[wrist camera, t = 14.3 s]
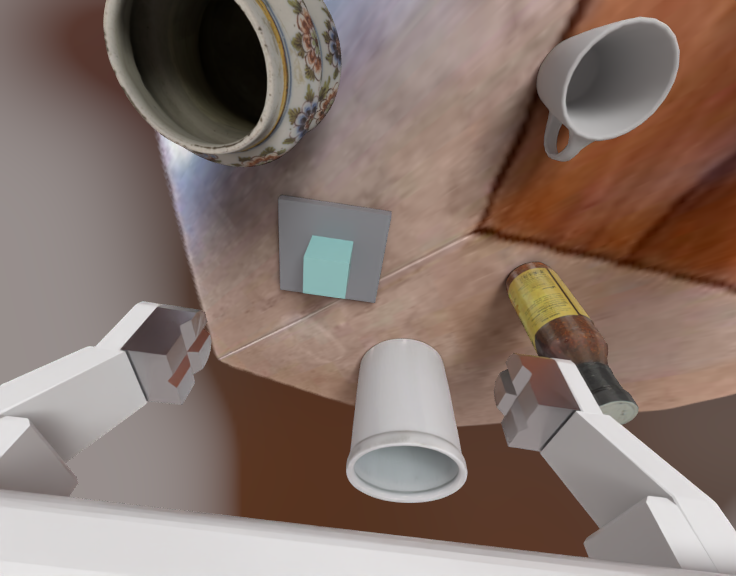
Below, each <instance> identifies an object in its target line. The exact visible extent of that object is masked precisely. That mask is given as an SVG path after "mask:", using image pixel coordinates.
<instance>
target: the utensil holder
mask: <svg viewBox="0 0 736 576" xmlns="http://www.w3.org/2000/svg"><path fill="white" fill-rule="evenodd" d="M346 474H347V477H348V479H349V481H350V483H351V484H352V485H353V486H354V487H355V488H357V489H358V490H360V491H361V492H363V493H365V494H367V495H370V496H372V497H375V498H378V499H382V500H386V501H393V502H403V503H417V502H427V501H432V500H437V499H440V498H444V497H446V496H448V495H450V494H452V493H454V492H456V491H457V490H458V489H460V488H461V487H462V486H463V484H464V483H465V481H466V478H467V467H466V463H465V459H464V457H463V455H462V453H461V447H460V442H459V436H458V432H457V427H456V422H455V417H454V412H453V407H452V401H451V396H450V391H449V386H448V382H447V378H446V373H445V368H444V365H443V361H442V359H441V357H440V355H439V354H438V352H437V351H436V350H435V349H433V348H432V347H431V346H429V345H427V344H425V343H423V342H420V341H417V340H412V339H391V340H387V341H384V342H381V343H379V344H377V345H375V346H374V347H372V348H371V349H370V350H368V351H367V352H366V354H365V355H364V357H363V359H362V361H361V365H360V371H359V379H358V386H357V395H356V405H355V413H354V423H353V432H352V442H351V450H350V454H349V456H348V459H347V465H346Z"/></svg>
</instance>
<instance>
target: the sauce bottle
mask: <svg viewBox="0 0 736 576" xmlns="http://www.w3.org/2000/svg"><path fill="white" fill-rule="evenodd" d="M506 287H507V292H508V296H509V299H510V301H511V303H512V305H513V307H514V309H515V310H516V312H517V314H518V316H519V319H520V321H521V323H522V324H523V326H524V328H525V330H526V332H527V334H528V336H529V338H530V340H531V342H532V344H533V346H534V348H535V350H536V352H537V354H538V356H540V357H547V358H556V359H564V360H570V361H572V362H573V363H574V364H575V365H576V367H577V369H578V370H579V372H580V374H581V376H582V378H583V379H584V381H585V383H586V385H587V386H588V388H589V390H590V392H591V393H592V395H593V397H594V399H595V401H596V402H597V404H598V406H599V408H600V409H601V411H602V413H603V414H604V415H610V416H611V417H612V418H613V419H614V420H616V421H617V422H618V423H619V424H621V425H622V424H625V423H628V422H629V421H631V420H632V419H633V418H634V417H635V416H636V415H637V413H638V406H637V404H636V403H635V401H634V399H633V398H632V396H631V395H630V394H629V393H628V392H627V391H626V390H624V389H623V388H622V387H621V385H620V384H619V382H618V381H617V380H616V378H615V377H614V375H613V372H612V371H611V369H610V368H609V366H608V362H607V355H608V345H607V343H606V342H605V340H604V338H603V337H602V335H601V334H600V333H599V331H598V330H597V329H596V327H595V326H594V323H593V321H592V320H591V319H590V317H589V316H588V315H587V313H586V312H585V311H584V310H583V308H582V307H581V306H580V304H579V303H578V302H577V300H576V299H575V298H574V296H573V295H572V294H571V292H570V291H569V290H568V288H567V287H566V286H565V284H564V283H563V282H562V280H561V279H560V278H559V276H558V275H557V274H556V273H555V272H554V271H553V270H552V269H551V268H550V267H548V266H547V265H545V264H543V263H540V262H532V263H527V264H523V265H521V266H519V267H517V268H516V269H514V270H513V271H512V272H511V273H510V275H509V277H508V279H507V281H506Z"/></svg>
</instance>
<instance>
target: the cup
mask: <svg viewBox="0 0 736 576" xmlns="http://www.w3.org/2000/svg"><path fill="white" fill-rule="evenodd" d="M679 52H680V51H679V47H678V43H677V39H676V36H675V35H674V33H673V32H672V31H671V29H670V28H669V27H668V25H666V24H664V23H662V22H661V21H659V20H657V19H655V18H646V17H637V18H632V19H627V20H622V21H619V22H616V23H612V24H609V25H605V26H602V27H598V28H595V29H592V30H589V31H586V32H584V33H581V34H578V35H576V36H573V37H571V38H569V39H566V40H564V41H562V42H561V43H559V44H558V45H557V46H556V47H554V48H553V49H552V50H551V51H550V53H549V54H548V55H547V56H546V58H545V59H544V61H543V63H542V65H541V66H540V69H539V72H538V76H537V85H536V86H537V92H538V95H539V97H540V99H541V101H542V102H543V103H544V104H545V106H546V107H547V108H548V109H549V117H548V121H547V126H546V130H545V135H544V147H545V151H546V153H547V155H548V156H549V157H550V158H551V159H554V160H558V161H563V162H564V161H569V160H570V159H572V158H573V157H574V156H575V155H577V154H578V152H579V151H580V150H581V149H583V148H584V147H585V146H587V145H588V144H590V143H592V142H593V141H602V140H608V139H613V138H616V137H618V136H621V135H623V134H626V133H628V132H629V131H631V130H633V129H634V128H636V127H637V126H639V125H641V124H642V123H643V122H644V121H645V120H646V119H647V118H649V117H650V116H651V115H652V114H653V113H654V112H655V111H656V110H657V108H658V107H659V106H660V105H661V103H662V102H663V101H664V100H665V98H666V96H667V95H668V93H669V91H670V89H671V87H672V85H673V83H674V81H675V77H676V74H677V71H678V67H679ZM562 124H564V125H565V126H566V127H567V128H568V129H569V142H568V145H567V146H566V148H565V149H564V150H563V151H562V152H560V153H558V151H557V146H556V143H557V136H558V132H559V129H560V127H561V125H562Z"/></svg>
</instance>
